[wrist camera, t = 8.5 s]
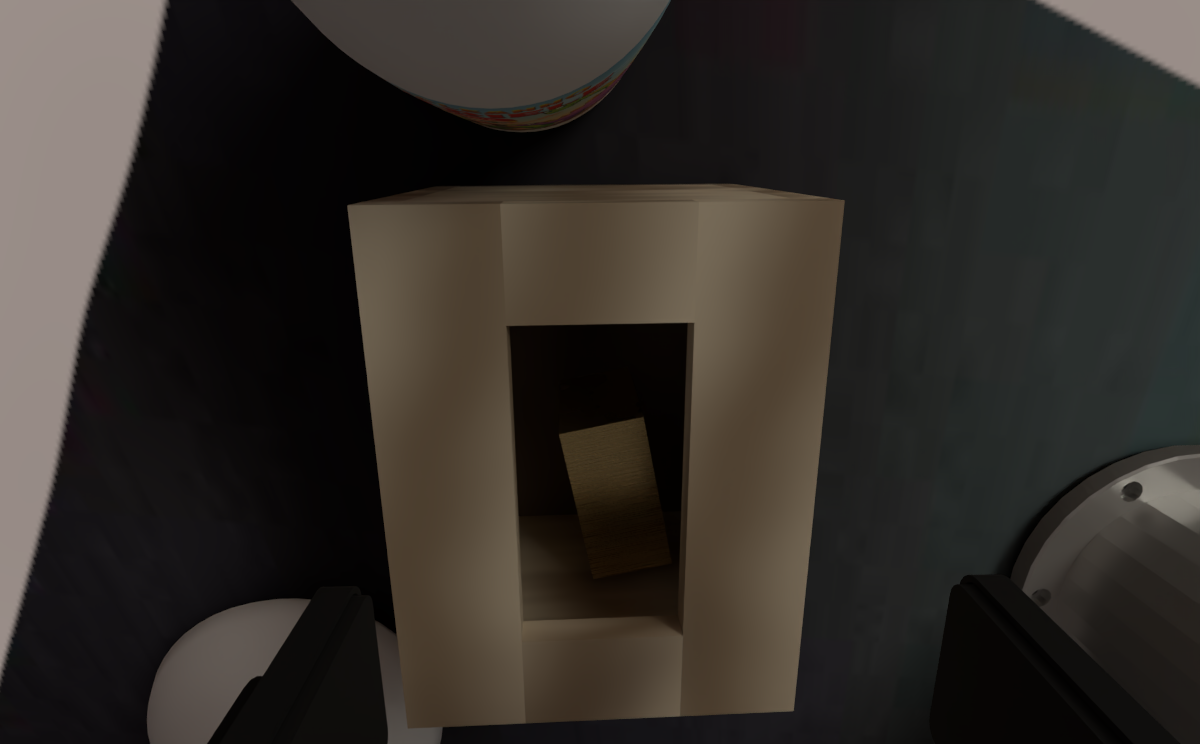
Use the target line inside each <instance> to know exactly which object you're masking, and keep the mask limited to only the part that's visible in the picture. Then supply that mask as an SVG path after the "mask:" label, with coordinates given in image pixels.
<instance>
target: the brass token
mask: <svg viewBox="0 0 1200 744" xmlns="http://www.w3.org/2000/svg"><path fill="white" fill-rule="evenodd" d="M559 437H560V441H561V445H562V449H563V454H564V458H565V462H566V466H567V470H568V475H569V479H570V483H571V487H572V491H573V496H574V500H575V504H576V508H577V512H578V517H579V521H580V525H581V529H582V533H583V538H584V542H585V546H586V550H587V554H588V559H589V563H590V567H591V571H592V575H593V579H597V578H602V577H607V576H612V575H616V574H621V573H626V572H631V571H636V570H641V569H646V568H651V567H656V566H661V565H666V564H670V563H672V561H671V556H670V551H669V545H668V540H667V535H666V530H665V525H664V520H663V515H662V509H661V504H660V499H659V494H658V489H657V484H656V478H655V473H654V468H653V463H652V458H651V453H650V448H649V442H648V437H647V432H646V427H645V422H644V417H643V414H642V410H641V407H640V404H639V401H638V397H637V394H636V391H635V388H634V384H633V381H632V378H631V375H630V372H629V368H628V366H627V367H622V368H617V369H613V370H608V371H603V372H598V373H593V374H588V375H584V376H579V377H574V378H569V379H564V380H560V401H559Z"/></svg>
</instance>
